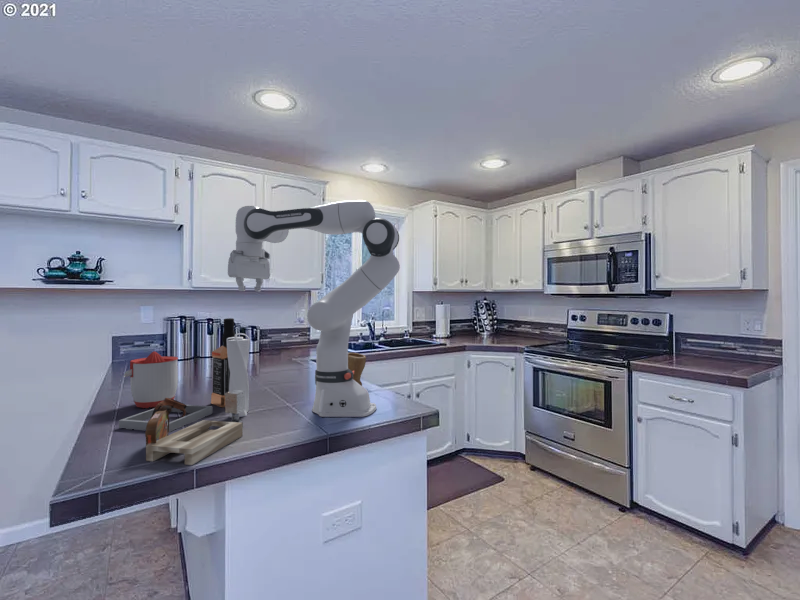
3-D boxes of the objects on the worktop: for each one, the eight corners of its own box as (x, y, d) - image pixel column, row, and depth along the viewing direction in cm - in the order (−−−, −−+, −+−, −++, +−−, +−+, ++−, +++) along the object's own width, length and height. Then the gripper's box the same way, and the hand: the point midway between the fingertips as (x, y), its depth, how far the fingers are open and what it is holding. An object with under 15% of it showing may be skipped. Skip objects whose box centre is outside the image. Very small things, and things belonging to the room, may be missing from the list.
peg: (246, 425, 122) (245, 390, 122) (237, 430, 118) (237, 393, 118) (233, 424, 123) (233, 389, 123) (224, 429, 119) (224, 393, 118)
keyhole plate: (242, 435, 113) (242, 422, 113) (191, 465, 94) (191, 449, 93) (203, 432, 116) (203, 420, 116) (146, 460, 96) (145, 445, 96)
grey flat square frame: (212, 413, 135) (212, 406, 135) (169, 432, 117) (168, 423, 117) (167, 410, 139) (167, 403, 139) (119, 428, 120) (118, 420, 120)
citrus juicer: (121, 404, 147) (120, 351, 147) (174, 396, 158) (173, 347, 158) (126, 414, 135) (125, 356, 135) (183, 404, 147) (182, 351, 146)
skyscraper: (249, 417, 131) (248, 333, 130) (225, 419, 129) (224, 333, 128) (252, 410, 138) (251, 331, 138) (229, 412, 136) (228, 331, 136)
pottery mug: (151, 419, 131) (165, 396, 134) (179, 430, 133) (192, 406, 136) (141, 420, 120) (156, 395, 123) (172, 432, 122) (186, 406, 125)
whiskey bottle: (236, 397, 156) (235, 317, 156) (249, 402, 150) (248, 318, 149) (210, 403, 148) (208, 318, 148) (222, 408, 142) (220, 319, 142)
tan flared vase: (368, 389, 169) (368, 354, 168) (340, 391, 165) (340, 355, 165) (362, 382, 183) (362, 350, 183) (336, 383, 180) (336, 351, 180)
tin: (156, 457, 98) (158, 424, 98) (142, 458, 97) (143, 424, 96) (169, 435, 112) (171, 406, 112) (157, 436, 111) (158, 406, 111)
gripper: (239, 248, 129) (239, 290, 129) (272, 255, 149) (273, 291, 149) (222, 249, 131) (223, 291, 131) (257, 255, 151) (258, 291, 151)
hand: (250, 291), depth 140 cm, fingers open, 8 cm apart
